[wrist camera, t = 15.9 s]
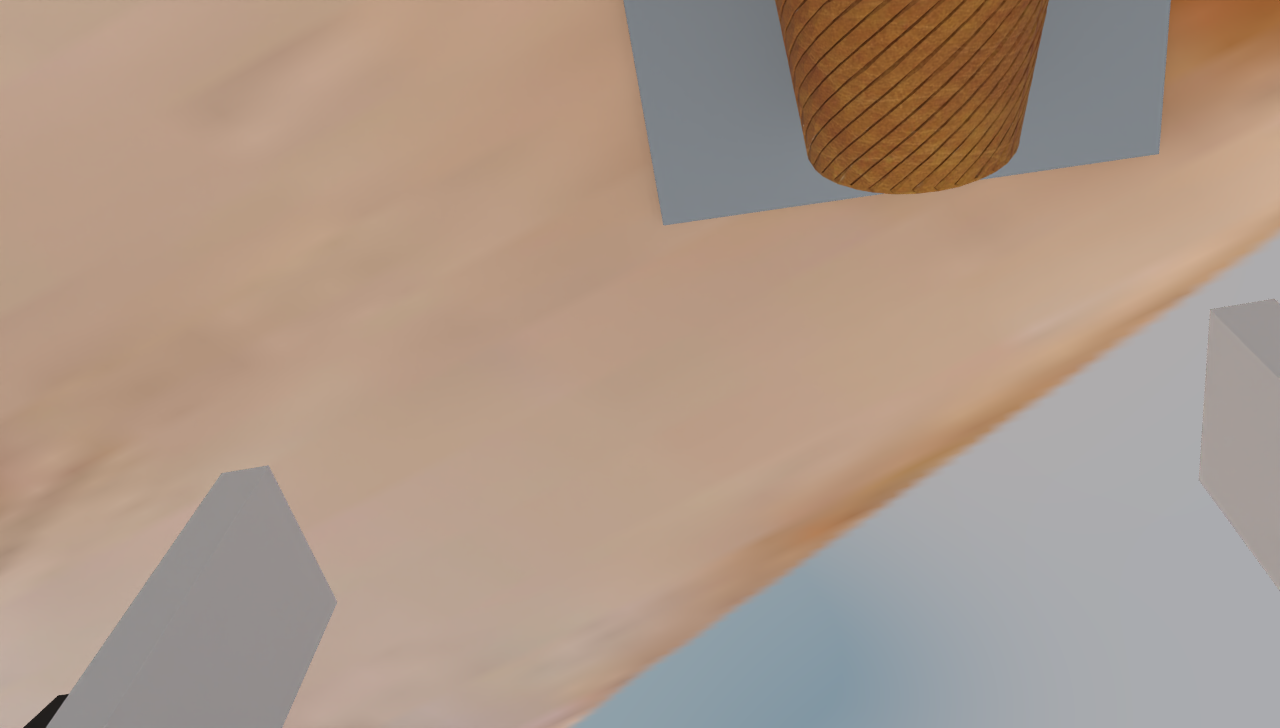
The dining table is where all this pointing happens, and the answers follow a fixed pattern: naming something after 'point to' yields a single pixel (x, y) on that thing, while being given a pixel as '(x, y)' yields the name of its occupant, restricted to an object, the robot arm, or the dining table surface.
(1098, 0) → the mat
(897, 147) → the disposable coffee cup
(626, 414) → the dining table surface
